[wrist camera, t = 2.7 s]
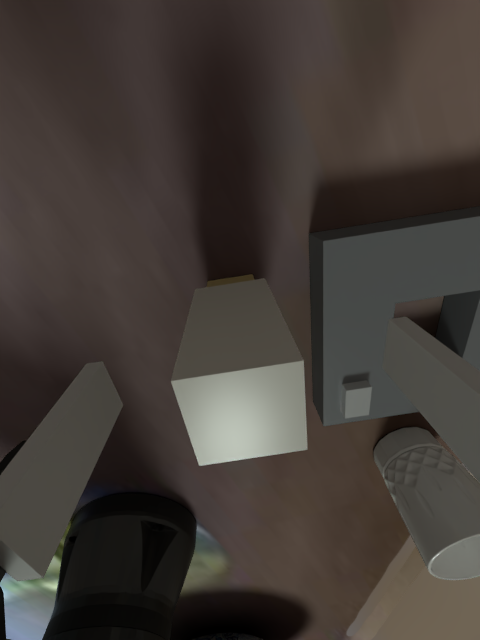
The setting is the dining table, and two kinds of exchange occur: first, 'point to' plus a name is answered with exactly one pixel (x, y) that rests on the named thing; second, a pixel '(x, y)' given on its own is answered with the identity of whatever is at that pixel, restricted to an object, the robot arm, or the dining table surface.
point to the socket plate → (387, 304)
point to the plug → (239, 374)
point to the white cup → (433, 501)
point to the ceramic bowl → (228, 637)
